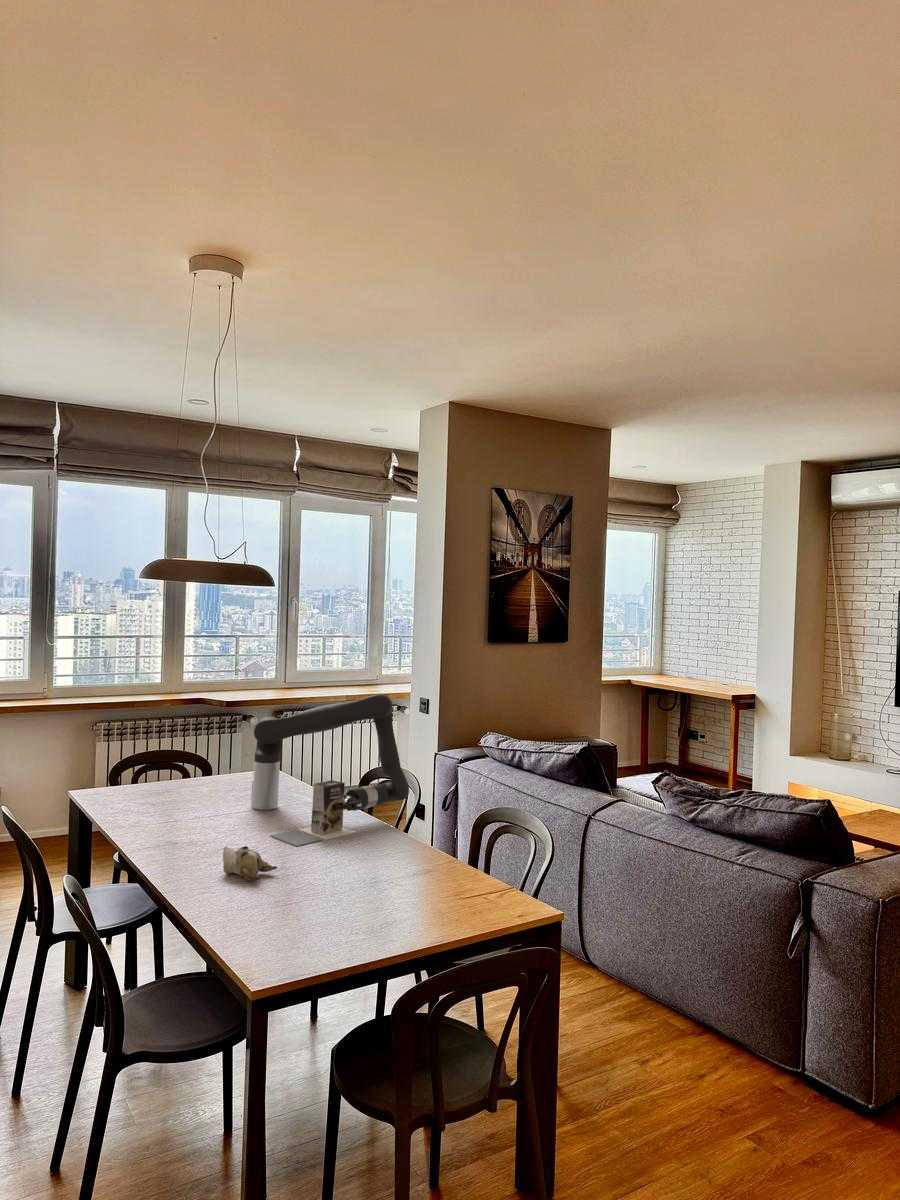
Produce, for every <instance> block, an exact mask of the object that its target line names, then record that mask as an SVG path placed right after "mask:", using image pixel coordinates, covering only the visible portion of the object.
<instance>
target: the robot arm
mask: <svg viewBox="0 0 900 1200" xmlns="http://www.w3.org/2000/svg"><path fill="white" fill-rule="evenodd" d="M393 706H394V705H393V702H392V700H391V698H390V697H389V696H388V695H386V694H385V693H376V694H373V695H370V696H367V697H364V698H361V699H358V700H355V701H348V702H338V703H330V704H326V705H324V704H323V705H321V706H320V705H319V706H316V707H312V708H308V709H306V710H304V711H301V712H299V713H296V714H293V715H291V716H287V717H280V718H277V717H275V716H266V717H264V718H262V719H261V720H259V721H258V722H257V723H256V724H255V727H254V728H253V729H254V730H253V736H254V739H255V740H256V748H255V751H254V761H253V762H254V763H253V764H254V765H253V780H252V781H251V797H250V799H251V800H250V806H251V808H252V809H255V810H259V811H271V810H275V809H277V808H278V807H279V787H280V786H279V785H280V769H281V768H280V766H281V754H282V745H283V744H282V743H283V740H284V739H288V738H291V737H295V736H302V735H303V736H304V735H310V734H315V733H322V732H325V731H330V730H334V729H338V728H341V727H344V726H347V725H350V724H352V723H354V722H358V721H359V722H360V721H366V720H367V721H368V720H373V722H374V726H375V729H376V735H377V745H378V746H377V747H378V755H379V761H380V767H381V773H382V774H383V775H384V776H386V777H389V778H390V780H391V781H387V782H383V783H380V784H374V785H373V784H372V785H364V786H359V787H354V788H350V789H348V790H347V792H346V793H344V801H343V802H342V803H336V804H333V805H332V810H333V811H337V810H343V811H347V812H350V811H353V812H354V811H359V810H364V809H368V808H369V809H370V808H372V807H374V806H379V805H382V804H384V803H388V802H389V803H390V802H396V801H404V800H406V799H407V798H408V796H409V795H410V794H409V793H410V787H409V786H410V785H409V783H408V780H407V777H406V775H405V773H404V771H403V770H402V767H401V761H400V756H399V751H398V746H397V742H396V738H395V733H394V725H393V708H394V707H393Z"/></svg>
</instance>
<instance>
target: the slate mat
mask: <svg viewBox="0 0 900 1200" xmlns="http://www.w3.org/2000/svg"><path fill="white" fill-rule="evenodd" d="M270 837H271V838H273V839H276V840H278V841H280V842H284V843H286V844H288V845H291V846H293V847H296V848H297V847H302V846H306V845H310V844H314V843H318V842H322V841H323V839H322V838H319V837H316V836H313V835H310V834H308V833H305V832H302V831H299V830H297V829H292V830H288V831H284V832H279V833H276V834H271V835H270Z"/></svg>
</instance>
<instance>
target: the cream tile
mask: <svg viewBox="0 0 900 1200" xmlns="http://www.w3.org/2000/svg"><path fill="white" fill-rule="evenodd" d="M298 831H300V832H302V833H305V834H308V835H311V836H313V837H316V838H319V839H322V840H325V841H326V840H330V839H334V838H338V837H343V836H347V835H351V834H354V833H356V831H355V830H351V829H348V828H345V827H342V830H340V831H336V832H332V833H328V834H325V835H322V834H319V833H316V832H313V831H311V826H310V827H304V828H300V829H298Z"/></svg>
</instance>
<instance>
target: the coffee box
mask: <svg viewBox="0 0 900 1200" xmlns="http://www.w3.org/2000/svg"><path fill="white" fill-rule="evenodd" d="M345 787H346V786H345V782H344V781H343V782H342V781H338V780H337V781H336V780H334V779H333V780H327V781H323V782H317V783H313V791H312V792H313V794H312V807H311V808H312V811H311V826H310V827H311V831H313V832H316V833H319V834H322V835H325V834H328V833H332V832H336V831H340V830H342V828H344V827H343V824H344V810H337V811H333V810H332V805H333V804H336V803H342V802H343V801H344V794H345Z"/></svg>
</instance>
